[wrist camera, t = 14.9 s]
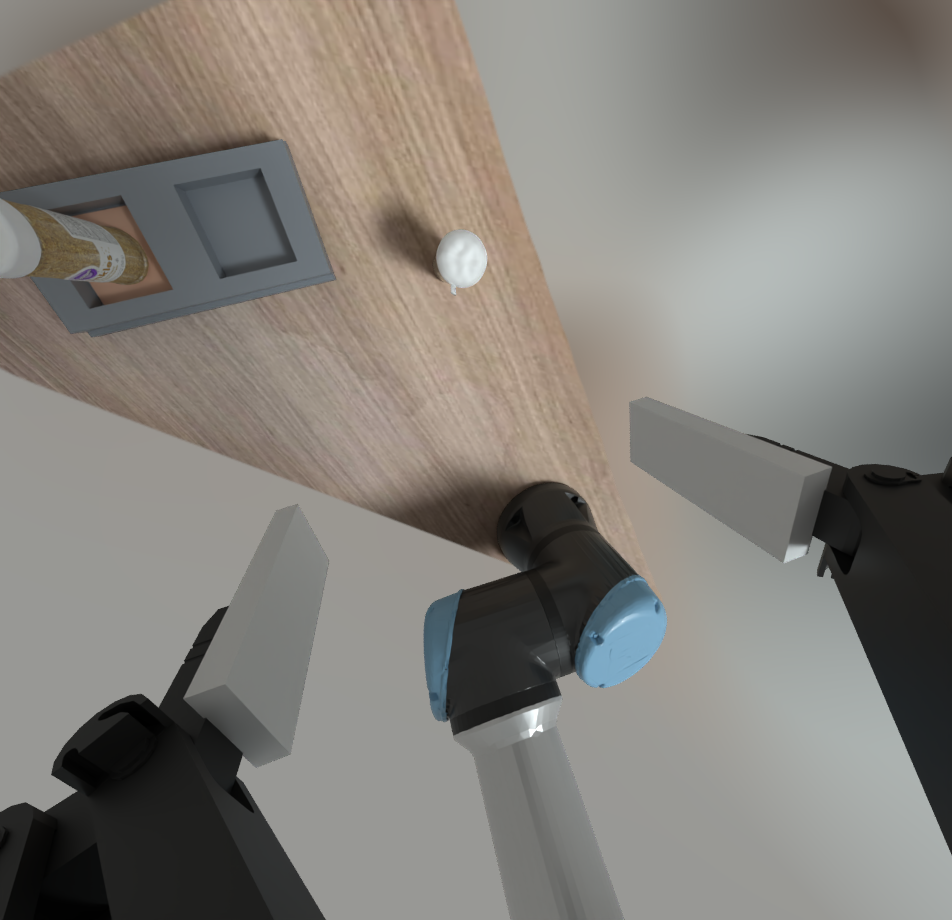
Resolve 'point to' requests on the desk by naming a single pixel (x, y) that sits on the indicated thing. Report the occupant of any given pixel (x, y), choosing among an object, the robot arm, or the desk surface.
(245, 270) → the two-pocket grey tray
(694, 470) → the robot arm
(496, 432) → the desk surface
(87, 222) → the sprinkles bottle
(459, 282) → the milkshake
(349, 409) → the desk surface
